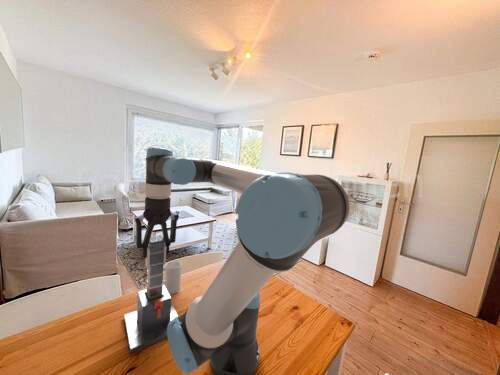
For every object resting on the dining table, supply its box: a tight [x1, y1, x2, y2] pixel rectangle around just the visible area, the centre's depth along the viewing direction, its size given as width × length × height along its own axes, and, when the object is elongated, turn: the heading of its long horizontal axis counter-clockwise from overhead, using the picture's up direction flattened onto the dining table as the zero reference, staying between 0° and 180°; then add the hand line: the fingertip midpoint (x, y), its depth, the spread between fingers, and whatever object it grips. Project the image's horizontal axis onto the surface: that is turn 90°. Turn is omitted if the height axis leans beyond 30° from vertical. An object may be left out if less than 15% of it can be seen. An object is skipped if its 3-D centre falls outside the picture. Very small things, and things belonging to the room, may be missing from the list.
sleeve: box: [123, 284, 179, 354], centre depth 72 cm, size 16×16×12 cm
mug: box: [163, 260, 183, 295], centre depth 92 cm, size 10×7×12 cm, turn 99°
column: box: [146, 234, 166, 301], centre depth 70 cm, size 5×5×22 cm
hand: (155, 264), depth 70 cm, fingers closed on column, 4 cm apart
